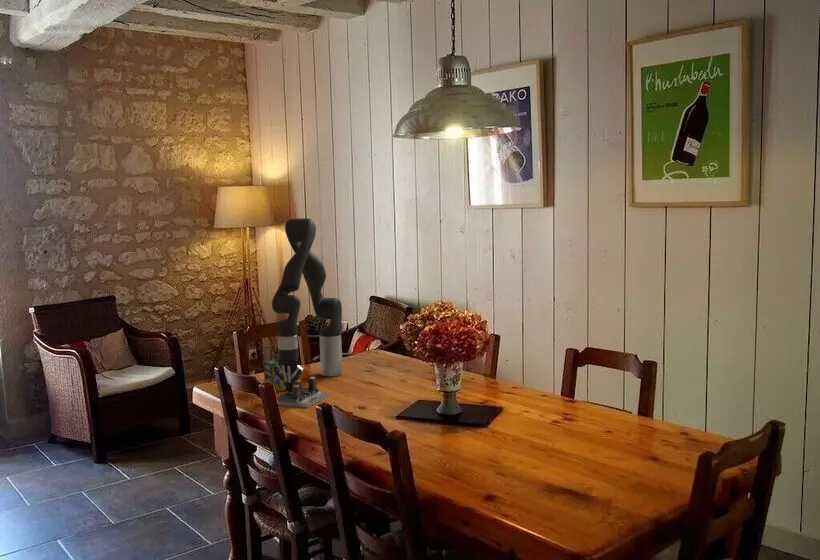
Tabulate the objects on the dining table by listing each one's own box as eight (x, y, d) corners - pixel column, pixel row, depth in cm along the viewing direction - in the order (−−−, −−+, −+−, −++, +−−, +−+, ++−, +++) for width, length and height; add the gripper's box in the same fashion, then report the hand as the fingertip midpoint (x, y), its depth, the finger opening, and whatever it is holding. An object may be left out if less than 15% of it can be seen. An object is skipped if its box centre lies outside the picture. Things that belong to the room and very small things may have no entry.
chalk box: (294, 389, 298) (293, 353, 296) (273, 393, 293) (271, 356, 291) (284, 384, 306) (283, 349, 304) (264, 388, 301) (262, 352, 299)
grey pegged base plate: (294, 392, 293) (293, 374, 292) (328, 396, 287) (327, 377, 286) (271, 404, 278) (270, 384, 277) (306, 408, 272) (306, 388, 271)
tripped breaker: (298, 394, 284) (297, 379, 283) (302, 395, 283) (302, 379, 283) (294, 396, 282) (294, 380, 281) (299, 396, 281) (298, 381, 280)
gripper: (308, 346, 283) (309, 390, 285) (278, 343, 288) (280, 387, 290) (297, 350, 276) (299, 395, 278) (267, 347, 281) (269, 392, 283)
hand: (289, 391), depth 284 cm, fingers closed
